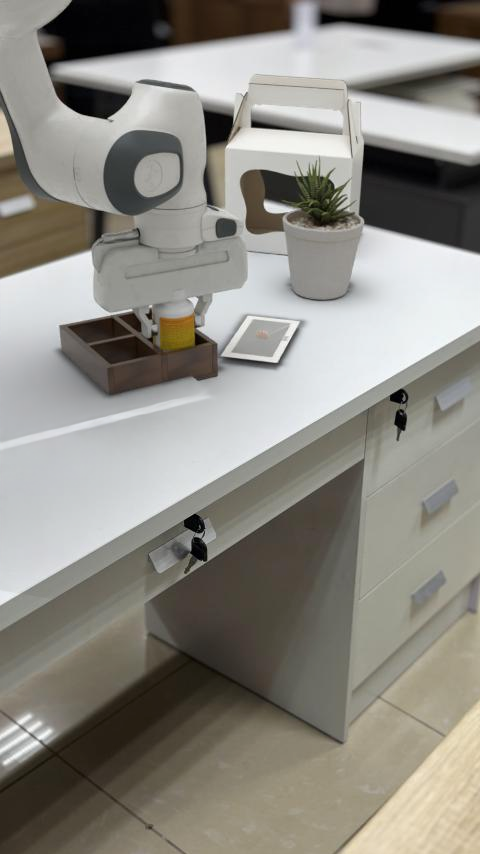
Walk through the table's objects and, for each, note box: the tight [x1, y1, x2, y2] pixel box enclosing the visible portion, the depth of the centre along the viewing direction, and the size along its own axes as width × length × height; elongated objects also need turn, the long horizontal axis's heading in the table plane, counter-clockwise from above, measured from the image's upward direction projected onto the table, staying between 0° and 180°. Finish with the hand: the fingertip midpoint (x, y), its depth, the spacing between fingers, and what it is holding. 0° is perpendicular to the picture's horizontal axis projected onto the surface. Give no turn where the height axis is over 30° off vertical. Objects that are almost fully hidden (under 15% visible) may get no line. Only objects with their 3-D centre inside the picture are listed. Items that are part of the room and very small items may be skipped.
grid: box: [58, 306, 219, 396], centre depth 125 cm, size 15×15×5 cm
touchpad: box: [220, 315, 301, 364], centre depth 133 cm, size 8×15×2 cm, turn 167°
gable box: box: [224, 73, 365, 256], centre depth 164 cm, size 22×13×28 cm, turn 77°
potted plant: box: [280, 157, 365, 301], centre depth 147 cm, size 13×14×20 cm
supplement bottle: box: [151, 289, 195, 353], centre depth 122 cm, size 5×5×10 cm
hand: (173, 331), depth 122 cm, fingers closed on supplement bottle, 5 cm apart
